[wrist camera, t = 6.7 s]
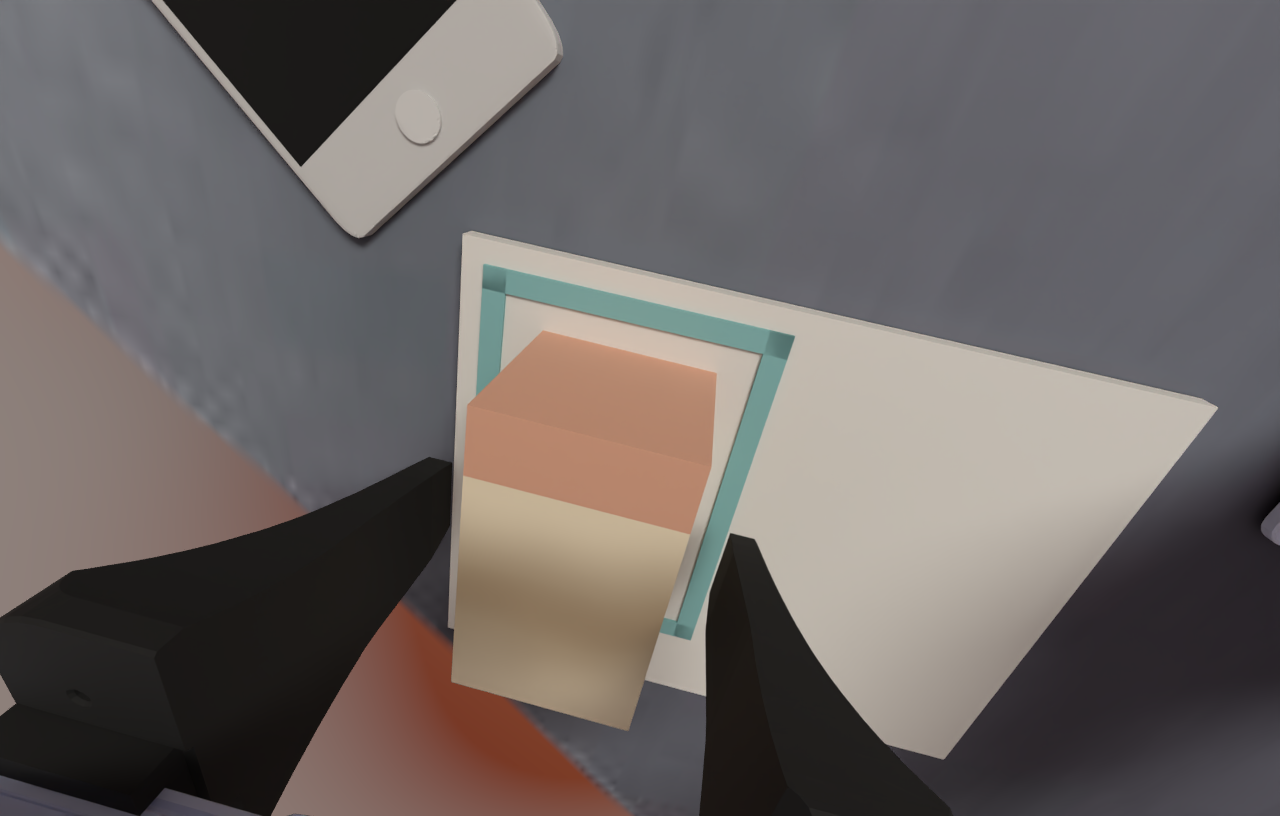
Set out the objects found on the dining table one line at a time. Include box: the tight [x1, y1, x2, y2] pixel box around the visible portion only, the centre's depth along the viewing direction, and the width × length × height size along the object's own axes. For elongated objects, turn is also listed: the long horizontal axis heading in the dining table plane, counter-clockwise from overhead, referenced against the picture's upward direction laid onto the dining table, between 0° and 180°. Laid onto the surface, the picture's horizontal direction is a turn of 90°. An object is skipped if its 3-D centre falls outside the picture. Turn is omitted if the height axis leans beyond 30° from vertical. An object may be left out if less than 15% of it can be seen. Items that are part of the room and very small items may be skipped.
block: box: [451, 330, 717, 731], centre depth 14 cm, size 8×5×4 cm, turn 169°
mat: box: [448, 231, 1218, 760], centre depth 16 cm, size 18×14×1 cm
